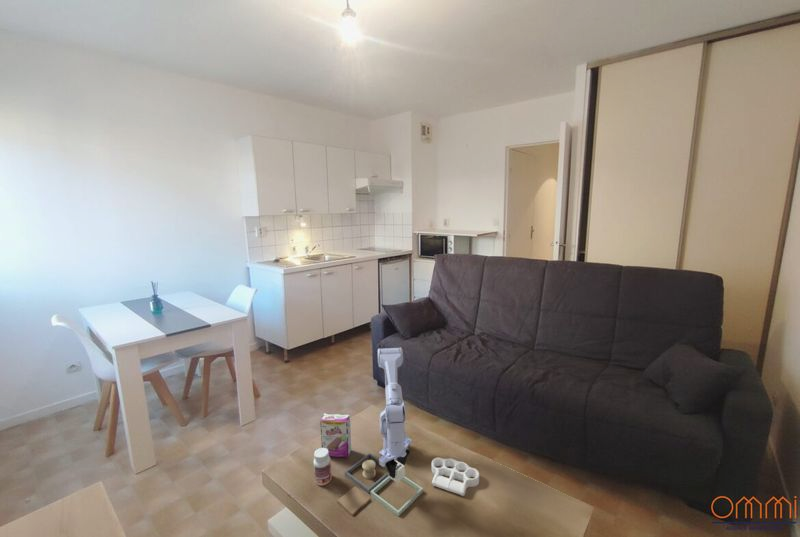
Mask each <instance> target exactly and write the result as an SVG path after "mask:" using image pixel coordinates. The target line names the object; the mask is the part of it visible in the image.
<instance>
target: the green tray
mask: <svg viewBox="0 0 800 537" xmlns="http://www.w3.org/2000/svg"><path fill="white" fill-rule="evenodd" d="M401 480H402V481H403V482H405V483H406V484H408V485H409V486H411V487H413V488H414V489H415V490H416V492H415V493H414V494H413V495H412V496H411V497H410V498H409V499H408V500H407V501H406V502H405V503H404V504H403V505H402V506H401V507H400V508H399V509H397V508H396V507H394V506H393V505H391V503H389V502H388V501H386V500H385V499H383V498H382V497H381V496H380V495H378V494H377V492H378V491H380V490H381V489H382V488H383V487H384V486H385V485H387V483H389V482H390V481H392V479H391V478H389V477H387V478H386V479H385V480H383V481H382V482H381V483H380V484H379V485H378V486H376V487H375V488H374V489H373V490H372V491H370V493H369V494H370V496H371V497H372V498H373V499H375V500H377V502H379V503H380V504H381V505H383V506H384V507H385V508H386V509H388V510H389V511H390V512H392V514H394V515H395V516H396V517H400V516H401V515H402V514H403V513H404V512H405V511H406V510H407V509H408V508H409V507H410V506H411V505H412V504H413V503H414V502H415V500H417V499H418V498H419V496H421V495H422V494H423V493H424V487H422V486H420V485H419V484H417V483H416V482H414V481H412V480H411V479H410V478H408V477H406V476H404V477H403V478H402V479H401Z"/></svg>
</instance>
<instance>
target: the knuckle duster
mask: <svg viewBox="0 0 800 537" xmlns="http://www.w3.org/2000/svg"><path fill="white" fill-rule="evenodd" d="M449 467H451V468H449ZM431 473H432V474H433V478H432V481H431V485H432V486H433V487H437V488H438V489H443V490H446V492H451V493H454V494H457V495H460V496H461V497H464V496H465V495H466V492H467V489H468V488H470V487H471V488H473V487H476V486H478V485H479V483H480V472H479V470H478V469H477V468H474V467H471V466H469V465H468V463H466V462H464V461H459V460H456V459H455V458H450V457H449V458H442V457H435V458H433V459H432V460H431ZM445 476H446V477H445ZM448 477H449V478H448ZM471 477H473V478H471ZM461 481H462V482H461Z"/></svg>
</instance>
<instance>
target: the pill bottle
mask: <svg viewBox="0 0 800 537" xmlns="http://www.w3.org/2000/svg"><path fill="white" fill-rule="evenodd" d="M331 460H332V459H331V456H329V452H328V449H326V448H322V447H319V448H317V449H316V450H315V451H314V454H313V475H314V476H313V477H314V482H315V484H316V485H318V486H325V485H327V484H329V483H330V482H331V481H332V478H333V476H332V464H331Z"/></svg>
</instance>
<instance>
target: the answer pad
mask: <svg viewBox="0 0 800 537" xmlns="http://www.w3.org/2000/svg"><path fill="white" fill-rule="evenodd" d="M370 501H371V497H369V496H368V495H366V494H365V492H363V491H362V490H360V489H359V488H358V487H357V486H353V487H352V488H351V489H349V490H348V491H347V492H346V493H345V494H343V495H342V496H341V497H340V498H338V499H337V500H336V504H337V503H338V505H340V506H341V508H343V509H344V510H345V511H346V512H348V513H349V514H350V515H351V516H354V515H355V514H357V513H358V512H359V511H360V510H362V509H363V508H364V507H365V506H366V505H367V504H368V503H369V502H370Z"/></svg>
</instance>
